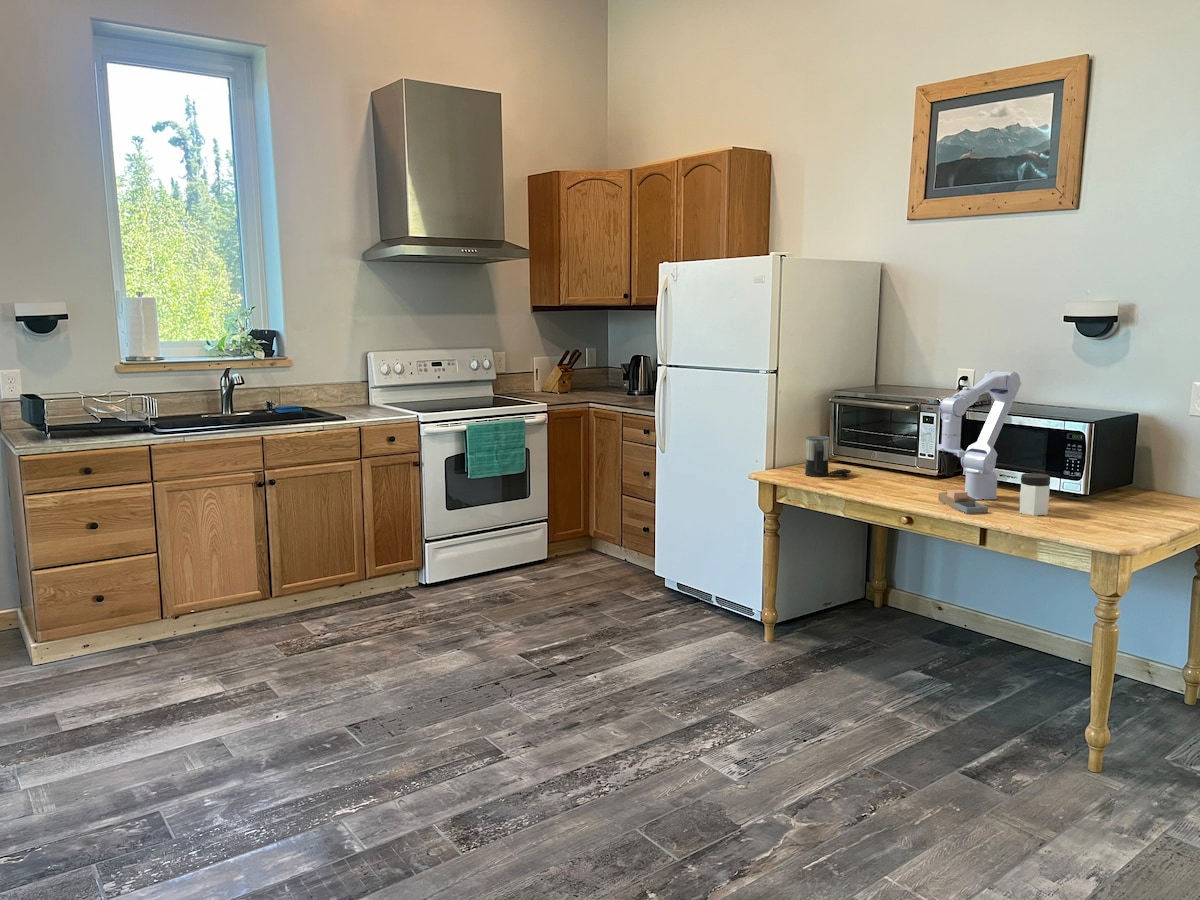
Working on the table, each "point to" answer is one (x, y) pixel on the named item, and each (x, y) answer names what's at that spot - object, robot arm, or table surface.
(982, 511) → the tray
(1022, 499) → the jar
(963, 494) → the peach flat square block
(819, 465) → the milk frother
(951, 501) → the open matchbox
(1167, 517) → the table surface
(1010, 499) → the table surface
